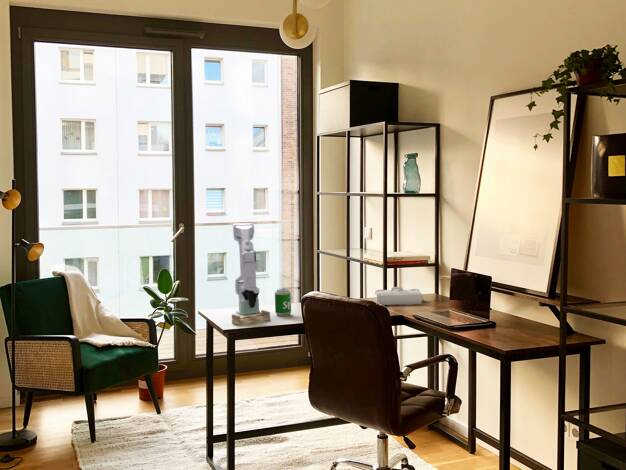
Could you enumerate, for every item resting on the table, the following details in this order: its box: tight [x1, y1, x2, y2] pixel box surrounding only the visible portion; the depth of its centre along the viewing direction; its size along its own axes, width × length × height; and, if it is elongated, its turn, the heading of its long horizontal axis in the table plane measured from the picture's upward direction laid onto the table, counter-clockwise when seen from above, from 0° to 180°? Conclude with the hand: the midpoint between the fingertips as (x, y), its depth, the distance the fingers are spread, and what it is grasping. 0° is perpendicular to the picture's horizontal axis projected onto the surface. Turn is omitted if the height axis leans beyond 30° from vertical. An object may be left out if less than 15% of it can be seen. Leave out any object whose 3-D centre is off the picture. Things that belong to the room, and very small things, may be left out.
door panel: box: [240, 299, 260, 315], centre depth 323 cm, size 8×3×6 cm, turn 123°
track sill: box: [231, 309, 271, 327], centre depth 324 cm, size 16×6×4 cm, turn 123°
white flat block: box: [374, 286, 431, 306], centre depth 363 cm, size 19×28×8 cm
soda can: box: [274, 288, 292, 317], centre depth 338 cm, size 8×8×12 cm
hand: (250, 307), depth 323 cm, fingers closed on door panel, 3 cm apart
